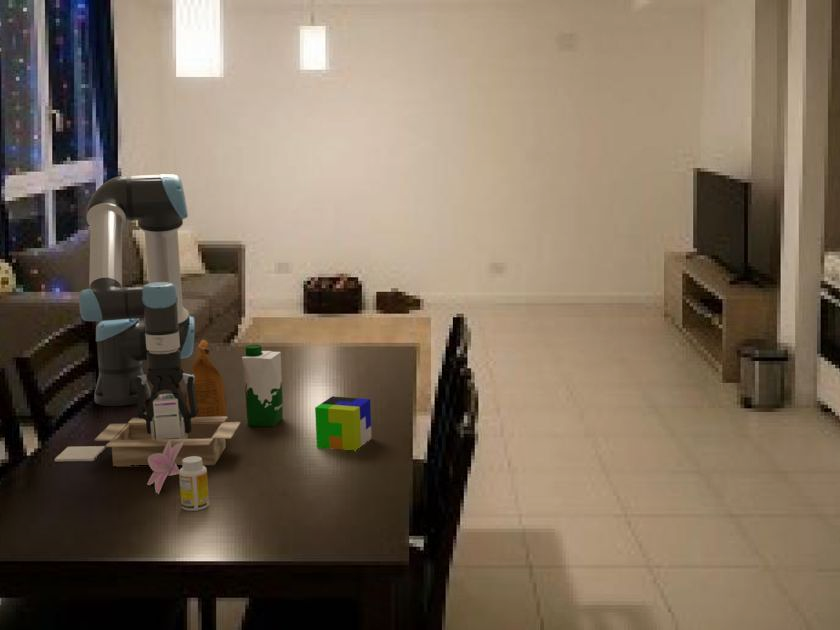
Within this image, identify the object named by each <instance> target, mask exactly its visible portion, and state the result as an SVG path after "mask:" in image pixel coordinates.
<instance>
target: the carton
mask: <svg viewBox="0 0 840 630" xmlns="http://www.w3.org/2000/svg"><path fill="white" fill-rule="evenodd" d="M181 419H183V416H181ZM227 420H228V416H227V415H226V417H195V418H191V432H190V433H187V435H188V439H153V440H152V437H151V434H148V433H147V426H146V420H144V419H142V418H141V419H139V418H138V417H132V418H131V419H130V420H129V421H128V422H127V423H109V424H108V425H107V426H106V427H105V429H104V430H102V431H101V432H100V433H99V435H97V436H96V438H94V441H95V442H96V441H98V442H103V441H104V442H105V441H107V442H108V441H109V442H108V443H106V445H105V448H111V455H112V456H111V457H112V467H113V466H116V467H132V466H131V465H135V466H134V467H139V466H138V465H149V463H148V457H149V456H151V455H153V454H157V453H162V454H163V452H164V449H165V446H166V444H167V443H168V441H169V440H171V448H172V447H173V446H175V445H177V444H179V443H181V442H183V445H182V447H181V449H180V450H179V452H178V454H177V456H176V458H175V461H174V462H175V463H176V465H182V460H183V459H184V458H186V457H190V456H198V457H201V458H202V463H203V466H215V465H216V463H217V461H218V460H219V459H220V457H221V455H222V454H223V452H224V450H225V448H226V447H227V444H226V440H228V439H229V440H231V439H232V438H233V436H234V435H235V433H236V431H237V430H238V428H239V426H240V424H241V421H227ZM225 421H226V422H225ZM136 465H137V466H136Z"/></svg>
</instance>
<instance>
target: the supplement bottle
mask: <svg viewBox="0 0 840 630" xmlns="http://www.w3.org/2000/svg"><path fill="white" fill-rule="evenodd" d="M178 476H179V478H178V479H179V490H180V502H181V503H180V505H181V507H182V509H183V510H185V511H188V512H195V511H196V512H197V511H201V510H204V509H206V508H208V506H209V504H210V498H209V497H210V495H209V483H208V482H209V481H208V470H207V467H206V465H203V463H202V458H201V457H198V456H190V457H186V458H184V459H183V460H182V467H181V468H180V469H179V474H178Z"/></svg>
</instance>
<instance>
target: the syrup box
mask: <svg viewBox="0 0 840 630" xmlns="http://www.w3.org/2000/svg"><path fill="white" fill-rule="evenodd" d="M153 409H154V415H153V416H154V417H153V418H154V421H155V432H156V439H182V437H181V423H180V421H181V420H182V419H181V417H182V414H181V412H180V409H179V405H178V399H177V398H175V397H174V395H173V394H172V392H171V393H161V394H159V396H158V397H157V398H156V399H155V400H153Z"/></svg>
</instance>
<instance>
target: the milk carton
mask: <svg viewBox="0 0 840 630" xmlns="http://www.w3.org/2000/svg"><path fill="white" fill-rule="evenodd" d="M241 360H242V367H243V373H244V377H243V378H244V392H245V394H244V395H245V408H246V409H245V410H246V421H247V422H246V423H247V426H252V427H254V426H255V427H275V426H276V425H277V424H278V423H279V422H280V421H281V420H283V418H284V417H283V415H284V414H283V413H284V412H283V411H284V408H283V407H284V404H283V403H284V400H283V398H284V397H283V383H282V381H283V380H282V353H281V351H272V350H262V345H260V344H249V345H246V346H245V354H244V355H243V356H242V357H241Z"/></svg>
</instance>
